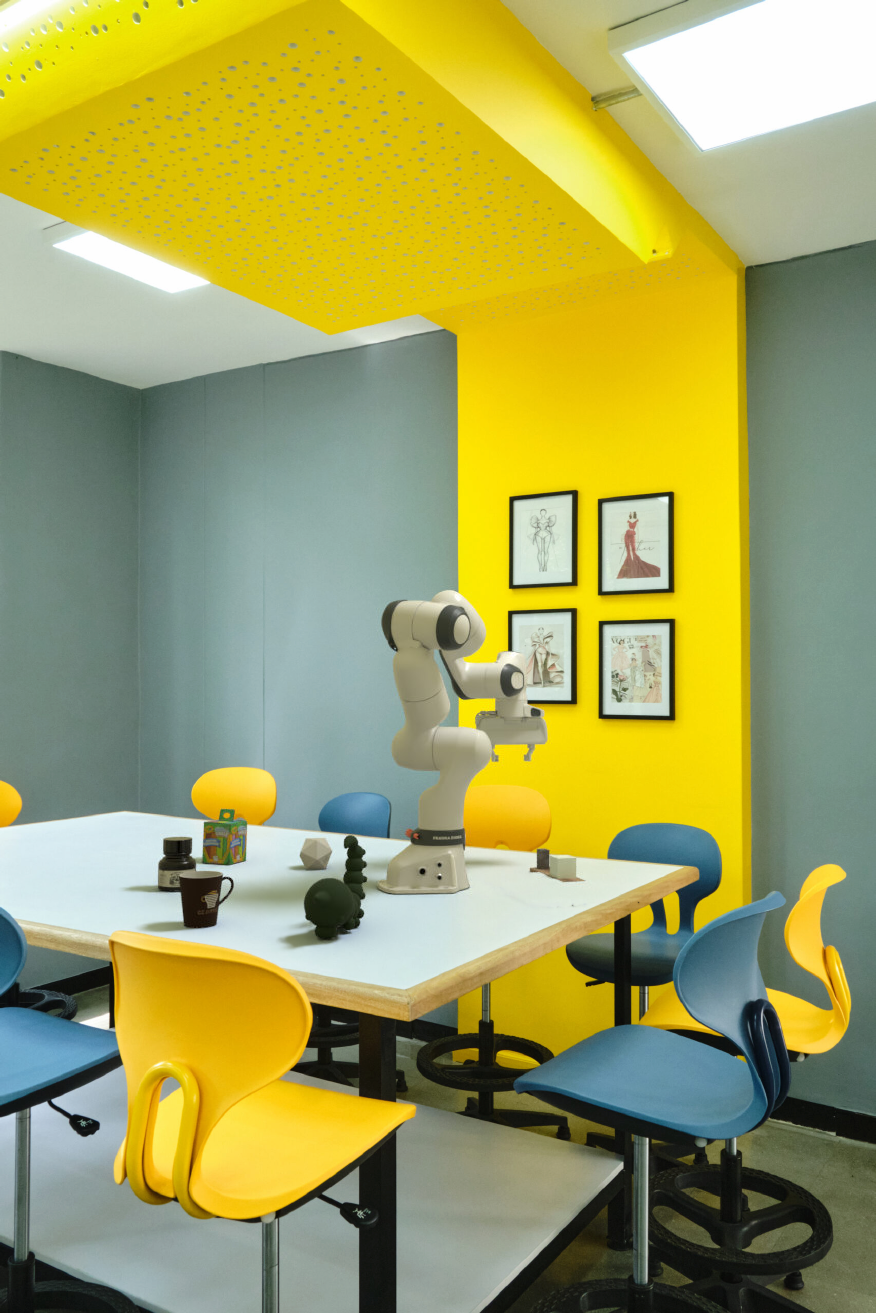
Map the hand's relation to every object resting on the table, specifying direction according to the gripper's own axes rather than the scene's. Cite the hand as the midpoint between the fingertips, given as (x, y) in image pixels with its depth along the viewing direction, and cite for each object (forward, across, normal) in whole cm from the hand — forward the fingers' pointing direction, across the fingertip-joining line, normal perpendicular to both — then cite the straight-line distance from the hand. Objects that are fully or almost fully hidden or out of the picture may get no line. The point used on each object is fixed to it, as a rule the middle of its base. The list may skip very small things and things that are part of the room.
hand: (511, 761), depth 266 cm
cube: (+28, +6, -21) cm, 36 cm away
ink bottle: (+29, -88, -6) cm, 93 cm away
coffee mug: (+29, -83, -47) cm, 100 cm away
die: (+29, -51, +15) cm, 61 cm away
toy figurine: (+29, -59, -60) cm, 89 cm away
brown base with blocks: (+29, +6, -17) cm, 34 cm away
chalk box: (+29, -74, +32) cm, 86 cm away
